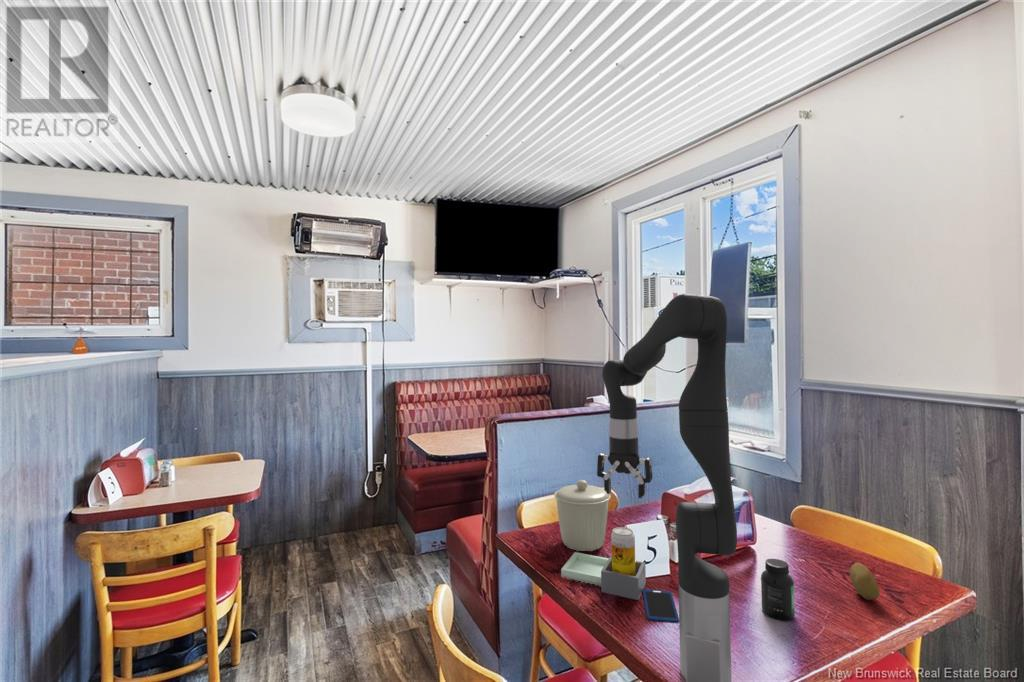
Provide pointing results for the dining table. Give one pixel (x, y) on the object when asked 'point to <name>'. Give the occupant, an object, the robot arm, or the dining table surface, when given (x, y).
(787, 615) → the supplement bottle
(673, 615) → the cell phone
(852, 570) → the potato
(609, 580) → the holder
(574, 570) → the tray
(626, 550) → the beer can
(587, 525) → the canister
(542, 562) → the dining table surface
